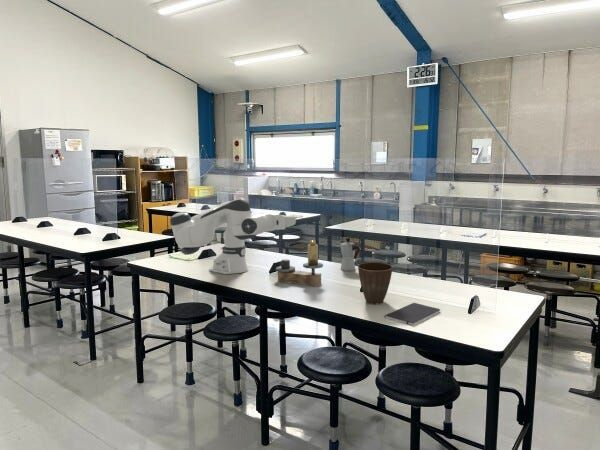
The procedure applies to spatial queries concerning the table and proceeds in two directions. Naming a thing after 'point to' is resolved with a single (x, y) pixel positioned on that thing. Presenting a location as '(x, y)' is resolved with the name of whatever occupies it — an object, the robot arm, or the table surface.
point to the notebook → (412, 313)
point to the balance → (298, 274)
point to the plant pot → (374, 281)
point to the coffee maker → (348, 255)
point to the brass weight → (312, 253)
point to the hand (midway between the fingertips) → (283, 217)
